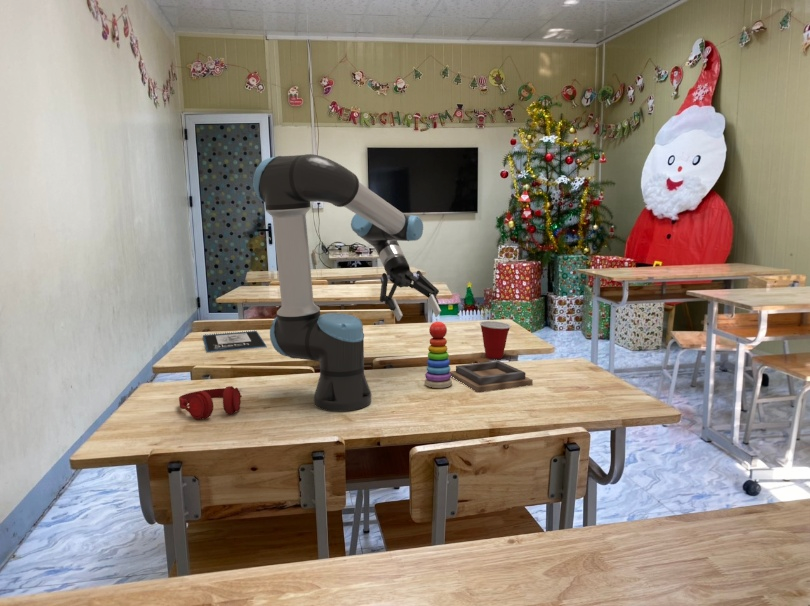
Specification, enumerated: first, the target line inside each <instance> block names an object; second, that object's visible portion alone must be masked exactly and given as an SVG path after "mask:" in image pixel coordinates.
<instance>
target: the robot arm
mask: <svg viewBox="0 0 810 606" xmlns="http://www.w3.org/2000/svg"><path fill="white" fill-rule="evenodd" d="M253 174H254V175H253V178H252V179H253V180H252V185H253V191H254V193H255V195H256V196H257V198H258V199H259V200H260V201H261V202H262V203H264V208H265V211H266V213H267V214H269V215H270V216H271V217H272V224H273V235H274V244H275V253H276V254H275V255H276V262H277V263H276V265H277V274H278V283H279V293H280V300H281V301H280V302H281V306H280V308H278V310H277V311H276V317H275V318H274V319H273V320H272V322H271V325H272V326H271V325H270V328H269V337H270V342H271V345H272V347H273V348H274V350H275V351H276V352H277V353H279V354H280V355H282V356H284V357H288V358H290V359H296V360H297V359H298V360H299V359H300V360H307V361H312V362H313V361H314V362H319V378H318V381H317V385H316V389H315V392H314V396H313V397H314V406H315V407H316V408H318V409H320V410H322V411H327V412H328V411H329V412H350V411H357V410H360V409H363V408H365V407H368V406H369V405H371V403H372V391H371V389H370V386H369V383H368V380H367V377H366V375H365V353H364V352H365V351H364V350H365V349H364V348H365V346H364V345H365V344H364V340H365V333H364V327H363V322H362V320H361V319H360V318H359V317H357V316H355V315H351V314H346V313H341V312H340V313H337V312H329V313H323V314H321V308H320V306H318V305H317V304H315V302H314V295H313V294H314V292H313V290H314V289H313V281H312V279H313V278H312V270H311V259H310V249H309V247H310V246H309V239H308V227H307V218H306V217H307V213H308V211H309V210H310V209H312V208H311V207H312V206H311V202H321V203H330V204H332V205H333V206H335V207H337V208H346V209H347V210H349V211H350V212H352V213H354V215H353V216H352V218H351V222H350V228H351V230H352V231H353V232H354V233H355V234H356V235H357V236H358V237H359V238H362V239H363V240H364V241H366V242H367V243H368V244H370V245H371V246H372V247H373V248H374V249H375V251H376V253H377V255H378V257H379V260H380V262H381V264H382V267H384V270H385V272H384V273H382V275H381V277H380V278H379V280H380V283H381V285H380V286H381V287H380V295H379V302H380V303H383V302H384V304H385V305H386V306H388V308H389V310H390V311H392V312H393V314H394V316H395V319H396V322H400V321H401V319H402V317H403V316H404V315H403V312H402V311H401V309H400V307H399V304H398V302H397V299H396V298H395V297H393V296H394V295H395V292H396V289H397V288H398V287H399V288H411V289H415V291H418V293H420V294H422V295H423V296H425V297H426V298H427V301H428V304H429V305H430V308H431V309H432V311H433V314H434V316H435V317H439V315H440V314H441V312H442V310H441V308H440V306H439V299H438V298H437V296H438V294H439V292H440V291H439V289H438V288H437V287H436V286H435V285H434V284H433V283H431V282H430V280H428V279H427V278H426V277H425V276H424V275H423V274H422V272H421V271H420V270H417V271H416V272H412V271H411V269H410V265H409V262H408V260H407V259H406V256H405V254H404V252H403V250H402V248H401V246H400V245H399V242H398V241H401V242H403V241H404V242H410V241H412V242H413V241H418V240H420V239H421V237H422V236H423V230H424V222H423V221H422V218H421V217H420V216H418V215H411V214H410V215H407V214H405V213H404V212H402V211H400V210H399V209H397V208H396V207H395V206H393V205H392V204H391V203H389V202H387V200H385V199H384V198H382V197H381V196H379V195H378V194H376V193H375V192H374V191H373V190H371V189H370V188H368V186H367V187H366V186H365V185H364V184H363V183H361V182H360V180H359V178H358V176H357V175H356V174H355V173H354V172H352V171H351V170H349V169H348V168H346V167H345V166H343V165H341V164H340V163H338V162H336V161H335V160H332V159H330V158H327V157H325V156H322V155H318V154H312V153H309V154H306V153H305V154H297V155H278V156H273V157H269V158H265V159H263V160H262V161H261V162H259V165H258V166H257V167H256V169H255V171H254V173H253ZM388 281H390V282H391V283H393V284H392V285H391V289H390V291H389V293H388V295H387V290H388Z"/></svg>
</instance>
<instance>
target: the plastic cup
mask: <svg viewBox="0 0 810 606" xmlns="http://www.w3.org/2000/svg"><path fill="white" fill-rule="evenodd" d="M479 325H480V327H481V328H480V329H481V334H482V342H483V348H484V354H485V358H487V359H490V360H498V359H499V360H500V359H502V358H503V356H504V353H505V348H506V344H507V339H508V334H509V331H510V329H511V327H512V325H511V324H509V323H508V322H503V321H496V320H495V321H494V320H483V321H480V322H479Z"/></svg>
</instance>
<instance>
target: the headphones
mask: <svg viewBox="0 0 810 606" xmlns="http://www.w3.org/2000/svg"><path fill="white" fill-rule="evenodd" d="M242 397H243V396H242V395H241V391H240V390H239V388H238V387H235V388H234V386H233V385H232V386H231V385H230V386H226V387H224V388H223V387H222V388H210V389H203V390H199V391H193V392H188V393H185V394H182V395H180V396H179V397H178V400H179V401H178V402H179V407H180V408H181V409H182V410H185V411H187V412H188V413H189V414H190V416H191V417H192V418H193V419H195V420H205V419H209V418H210V417H211V416H212V415H213V412H214V401H213V399H218V398H221V399H222V406H223V409H224V413H225V414H226V415H234V414H235V413H239V412H240V410H241V409H240V408H241V403H242V402H241V398H242Z"/></svg>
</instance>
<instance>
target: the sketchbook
mask: <svg viewBox="0 0 810 606" xmlns="http://www.w3.org/2000/svg"><path fill="white" fill-rule="evenodd" d="M202 339H203V342H204V348H205V350H206V353H207V354H209V353H210V354H212V353H221V352H224V353H225V352H233V351H244V350H254V349H255V350H256V349H264V348H265V349H267V347H268V346H267V345H266V343H265V341H264V340H263V339H262V337H261V335H260V334H259V333H258V331H257V330H255V329H254V330H251V329H250V330H248V331H247V330H244V331H243V330H242V331H236V332H235V331H233V332H232V331H231V332H230V331H229V332H226V331H225V332H222V333H219V332H218V333H217V332H216V333H204V334H203V335H202Z"/></svg>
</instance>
